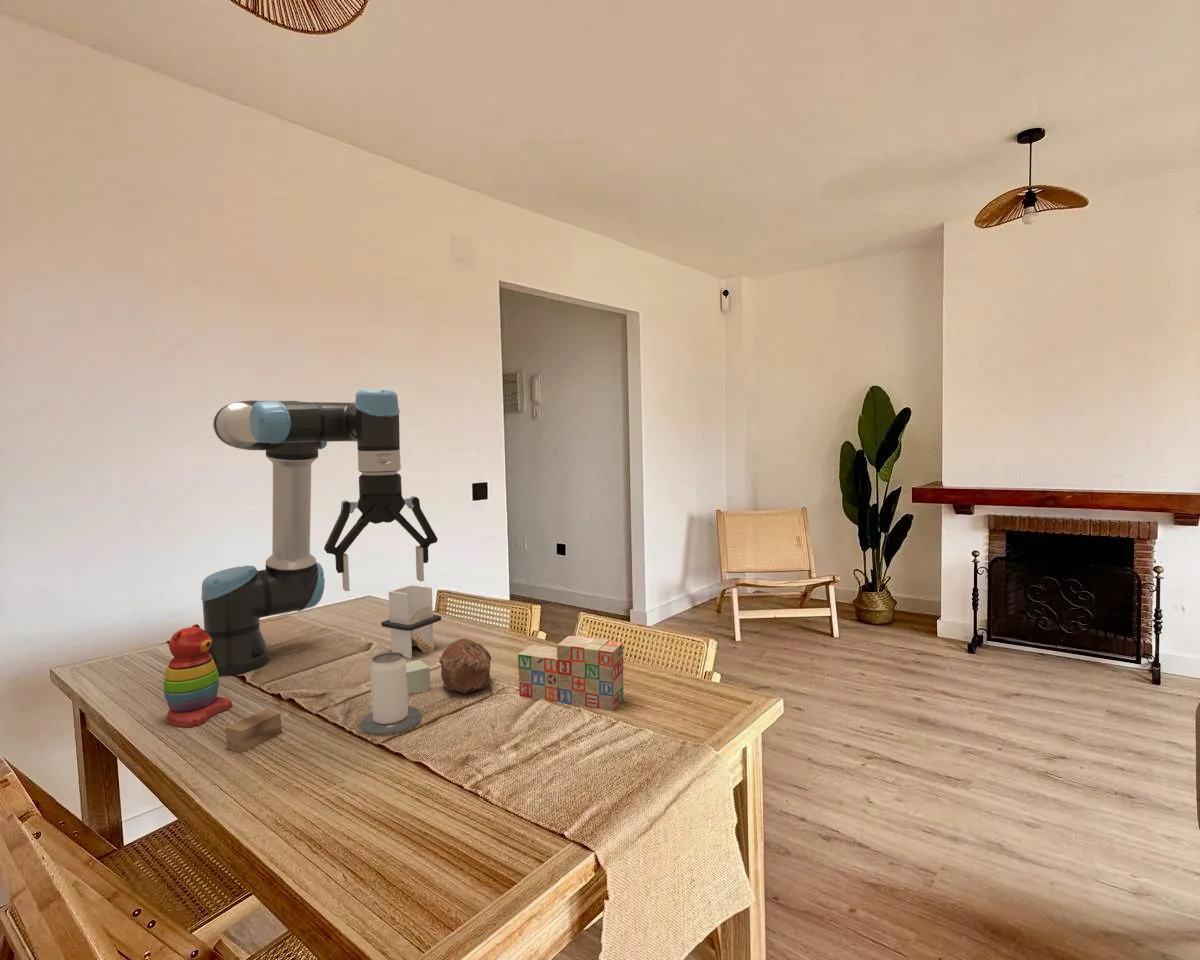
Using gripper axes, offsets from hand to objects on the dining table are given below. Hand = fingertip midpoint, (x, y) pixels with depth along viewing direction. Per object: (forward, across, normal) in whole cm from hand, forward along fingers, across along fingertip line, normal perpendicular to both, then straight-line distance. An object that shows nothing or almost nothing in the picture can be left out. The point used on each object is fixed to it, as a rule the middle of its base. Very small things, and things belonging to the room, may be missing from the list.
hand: (384, 584), depth 121 cm
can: (+26, 0, -1) cm, 26 cm away
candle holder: (+28, +14, +38) cm, 49 cm away
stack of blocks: (+27, +35, -9) cm, 45 cm away
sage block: (+27, +8, +14) cm, 31 cm away
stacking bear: (+28, -33, +24) cm, 49 cm away
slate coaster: (+27, 0, -1) cm, 27 cm away
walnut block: (+27, -23, +5) cm, 36 cm away
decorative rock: (+27, +18, +8) cm, 34 cm away
